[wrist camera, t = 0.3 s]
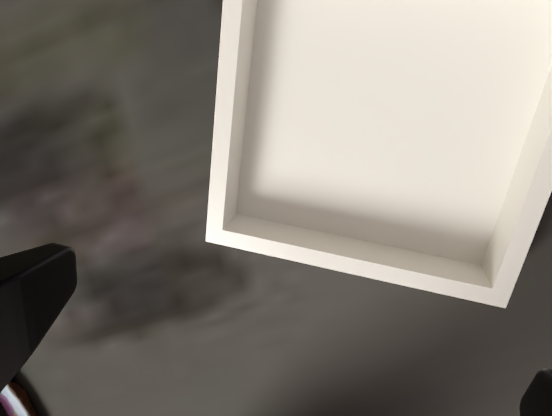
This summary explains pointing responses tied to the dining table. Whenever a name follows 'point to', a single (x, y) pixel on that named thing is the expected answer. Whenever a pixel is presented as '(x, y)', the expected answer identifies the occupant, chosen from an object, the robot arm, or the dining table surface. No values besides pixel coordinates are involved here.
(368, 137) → the tray
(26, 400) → the chocolate cake
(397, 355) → the dining table surface
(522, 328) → the dining table surface
